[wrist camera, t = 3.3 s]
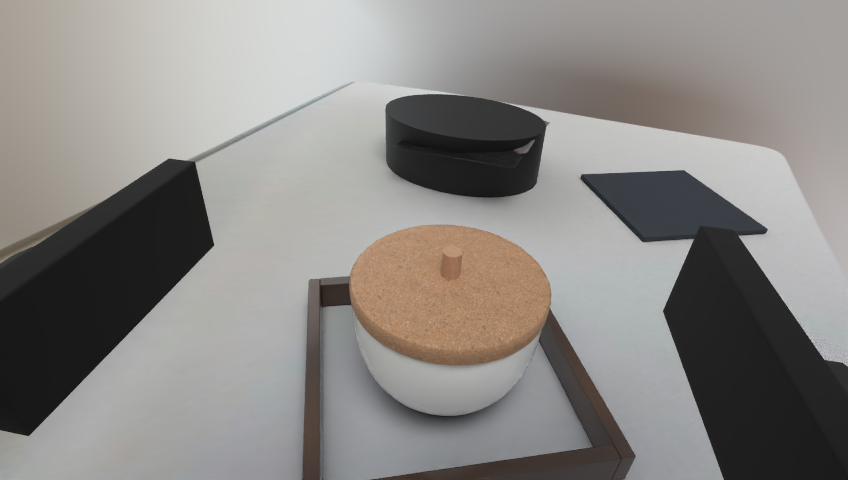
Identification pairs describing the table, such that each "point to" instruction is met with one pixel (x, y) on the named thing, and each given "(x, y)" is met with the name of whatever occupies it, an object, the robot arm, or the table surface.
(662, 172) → the mat
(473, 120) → the tape dispenser
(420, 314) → the trinket box
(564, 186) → the table surface
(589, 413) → the dark wooden square frame
